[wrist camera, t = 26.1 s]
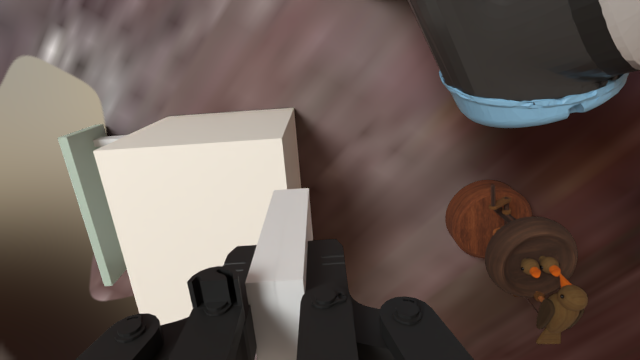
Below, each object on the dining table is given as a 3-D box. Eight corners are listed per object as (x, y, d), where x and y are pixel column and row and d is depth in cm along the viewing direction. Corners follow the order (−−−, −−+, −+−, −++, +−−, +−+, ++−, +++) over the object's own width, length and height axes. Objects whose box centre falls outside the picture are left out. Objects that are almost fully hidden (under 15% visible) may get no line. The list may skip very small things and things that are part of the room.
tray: (95, 124, 47) (57, 137, 40) (281, 112, 46) (275, 123, 39) (131, 255, 53) (104, 286, 46) (295, 245, 53) (291, 274, 46)
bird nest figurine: (530, 243, 53) (628, 354, 35) (454, 260, 55) (507, 375, 37) (515, 146, 48) (618, 216, 30) (431, 170, 50) (480, 249, 32)
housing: (169, 116, 47) (92, 150, 31) (293, 107, 46) (281, 138, 31) (197, 252, 53) (146, 338, 38) (306, 245, 53) (301, 329, 37)
